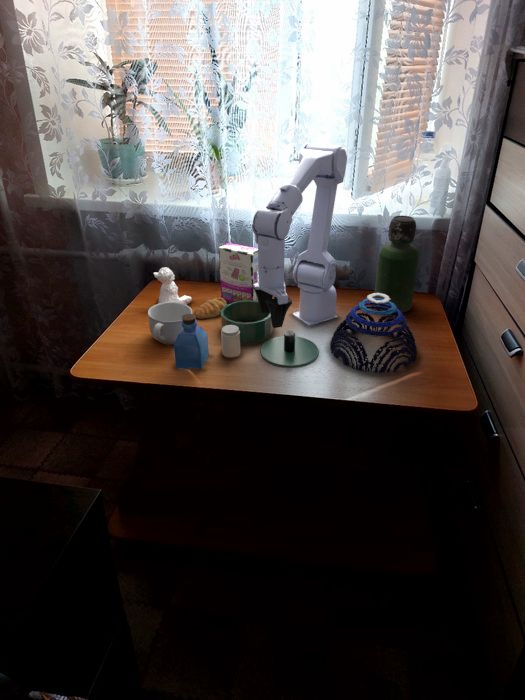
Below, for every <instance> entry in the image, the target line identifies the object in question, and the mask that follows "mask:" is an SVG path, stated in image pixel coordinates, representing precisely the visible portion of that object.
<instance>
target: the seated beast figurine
mask: <svg viewBox="0 0 525 700" xmlns="http://www.w3.org/2000/svg"><path fill="white" fill-rule="evenodd" d="M153 275H154V278H156V279H157V281H158V282H160V283H161V286H160V289H159V298H158V303H157V304H159V303H164V302H177V303H182V304H185V305H187V306H188V305H190V304H191V303H192V301H193V298H192V297H191V296H189V295H186V294H184V295H182V296H180V297H179V294H178V293H179V292H178V290H179V287H178V286H177V284H176V283H175V281H174V280H175V279H176V278H175V277H176V275H175V274H174V272H173V270H172V269H170V267H165V266H164V267H161V268H160V269H159V270H158V272H156V271H155V272H153Z"/></svg>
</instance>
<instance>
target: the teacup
mask: <svg viewBox="0 0 525 700" xmlns="http://www.w3.org/2000/svg"><path fill="white" fill-rule="evenodd" d="M185 314H193V309H192V308H191V306H189V305H188V304H187V305H185V304H182V303H177V302H164V303H159V304H158V303H156V304H154V305H152V306H151V307H149V309H148V310H147V316H148V327H149V332H150V334H151V336H152V337H153V339H155V340H156V341H157V342H159V343H162V344H164V345H174V343H175V341H176V339H177V336H178V334H179V332H180V331H181V329H182V328H183V327H182V323H181V322H182V321H183V320H182V316H183V315H185Z"/></svg>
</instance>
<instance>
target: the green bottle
mask: <svg viewBox="0 0 525 700" xmlns="http://www.w3.org/2000/svg"><path fill="white" fill-rule="evenodd" d="M416 232H417V222H416V220H415V218H414V217H412V216H409V215H395V216H393V218H392V219H391V221H390V223H389V226H388V235H387V236H388V240H389V242H386V243H385V244H384V245H382V246H381V247H380V249H379V252H378V259H377V268H376V277H375V286H374V293H381V294H385V295H387V296H389V298H390V299H391V300H389V301H390V302H392V303H394V304H395V305H396V308H397V309H398V310H400V312H401V313H402V314H404V313H406V312H408V311H410V310H411V309H412V307H413V301H414V294H415V286H416V282H417V281H416V280H417V273H418V267H419V259H420V251H419V249H418V248H417V246H416V245H414V244H412V243H413V242H414V239H415V235H416ZM373 298H383V297H380V296H375V297H373ZM383 299H385V298H383ZM385 304H388V303H387V302H386V303H385ZM389 305H390V304H389ZM373 306H377V305H373ZM378 306H381V305H378ZM382 307H385V308H390V307H387V306H382ZM378 311H386V310H381V309H378Z"/></svg>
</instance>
